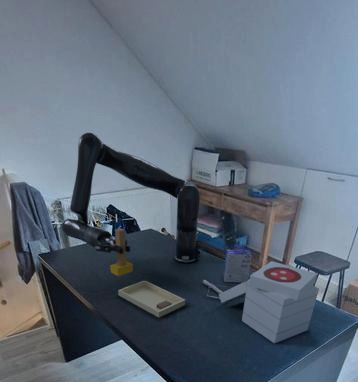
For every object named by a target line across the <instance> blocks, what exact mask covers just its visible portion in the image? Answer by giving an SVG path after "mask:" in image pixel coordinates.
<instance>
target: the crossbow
mask: <svg viewBox="0 0 358 382" xmlns="http://www.w3.org/2000/svg"><path fill="white" fill-rule="evenodd" d="M202 284H203V285H205V286H207V287H208V289H210V288H211V289H212V290H213V291H215V292H216V293H218V295H219V294H221V293H223V292H224V291H222V290H221V289H220V288H218V287H217V286H219V287H220V285H218V284H216V285H215V284H213V283H210V282H209V281H207V280H206V279H202ZM222 287H224V288H226V286H225V285H222ZM228 288H229V289H231V288H232V287H230V286H228ZM209 291H210V290H208V292H207V295H206V297H208V298H213V299H219V296H218V297H217V296H213V295H209Z"/></svg>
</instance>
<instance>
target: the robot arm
mask: <svg viewBox="0 0 358 382" xmlns="http://www.w3.org/2000/svg"><path fill="white" fill-rule="evenodd" d="M97 164H98V165H100V166H103V167H106V168H109V169H110V170H113V171H114V172H116V173H118V174H119V175H121V176H123V177H125V178H126V179H128V180H130V181H132V182H134V183H135V184H138V185H140V186H143V187H145V188H148V189H152V190H157V191H161V192H164V193H166V194H168V195H170V196H172V197H173V198H175V199H176V201H177V203H176V228H175V230H176V231H175V232H176V233H175V261H176V262H178V263H182V264H191V263H195V262H196V261H198V256H199V255H201V251H200V250H199V240H198V225H199V224H198V223H199V221H198V220H199V215H200V201H201V194H200V190H199V188H198V186H197V185H196V184H195V183H194V182H191V181H189V180H186V179H183V178H180V177H178V176H174V175H173V174H170V173H169V172H167V171H165V170H163V169H162V168H160V167H159V166H157V165H155V164H154V163H151V162H150V161H147V160H145V159H144V158H141V157H139V156H136V155H133V154H130V153H126V152H122V151H119V150H117V149H115V148H113V147H111V146H110V145H107V144H106V143H105V142H103V141H102V140H101V139H100V137H99V136H98V135H96V134H95V133H93V132H85V133H83V134H82V135H81V136H80V137H79V139H78V141H77V167H76V174H75V179H74V184H73V189H72V194H71V198H70V204H69V205H70V206H69V210H70V212H72V213H74V214H76V216H77V219H76V218H71V217H67V218H65V219H63V221H62V223H61V225H60V226H61V227H60V228H61V231H62V233H63V234H64V235H66V236H67V237H70V238H73V239H77V240H80V241H82V242H84V243H86V244H88V245H89V246H90V247H93V248H95V251H96V252H103V253H108V254H110V253H111V252H113V253H116V252H118V253H120V254H123V253H124V251H123V248H122V247H120V246H117V245H116V237H115V236H113V234H112V233H111V232H110V231H108V230H106V229H103V228H100V227H97V226H94V225H92V224H89V207H90V202H91V197H92V187H93V178H94V172H95V169H96V165H97ZM125 251H126V252H127V253H130V252H131V246H130V245H128V240H127V239H126V238H125Z"/></svg>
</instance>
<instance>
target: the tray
mask: <svg viewBox="0 0 358 382" xmlns="http://www.w3.org/2000/svg"><path fill="white" fill-rule="evenodd" d="M117 294H118V296H119V297H121V298H122V299H124V300H126V301H127V302H130V303H132V304H134V305H136V306H137V307H139V308H141V309H143V310H145V311H146V312H148V313H149V314H152V315H153V316H155V317H157V318H161V317H163V316H165V315H167V314H169V313H172V312H173V311H176V310H177V309H180V308H182V307H184V306H186V299H185V298H183V297H181V296H179V295H177V294H175V293H172V292H170V291H168V290H166V289H164V288H162V287H160V286H158V285H155V284H154V283H152V282H149V281H147V280H141V281H139V282H136V283H133V284H130V285H128V286H125V287H122V288H120V289H118V290H117ZM166 300H167V301H168V302H170V303H172V305H170V306H168V307H165V308H163V309H159V308H157V304H159V303H161V302H163V301H166Z"/></svg>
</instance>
